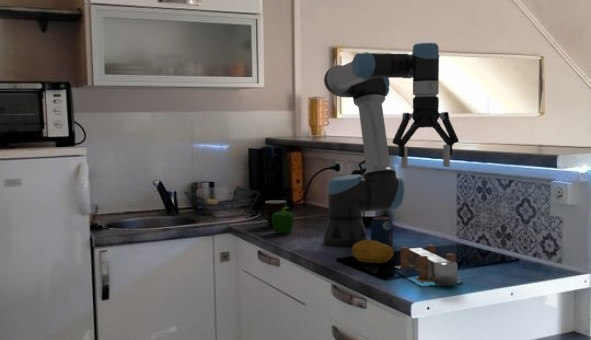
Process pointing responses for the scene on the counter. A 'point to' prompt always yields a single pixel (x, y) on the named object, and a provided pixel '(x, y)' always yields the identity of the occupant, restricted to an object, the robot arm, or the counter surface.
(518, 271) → the counter surface
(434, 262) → the grey ridged block
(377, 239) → the soda can
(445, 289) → the counter surface
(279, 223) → the bell pepper
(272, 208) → the coffee mug
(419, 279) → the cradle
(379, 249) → the potato
